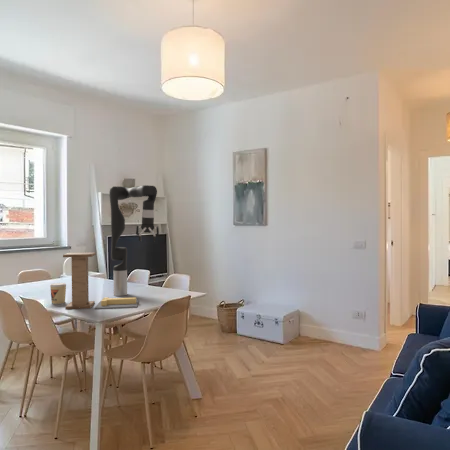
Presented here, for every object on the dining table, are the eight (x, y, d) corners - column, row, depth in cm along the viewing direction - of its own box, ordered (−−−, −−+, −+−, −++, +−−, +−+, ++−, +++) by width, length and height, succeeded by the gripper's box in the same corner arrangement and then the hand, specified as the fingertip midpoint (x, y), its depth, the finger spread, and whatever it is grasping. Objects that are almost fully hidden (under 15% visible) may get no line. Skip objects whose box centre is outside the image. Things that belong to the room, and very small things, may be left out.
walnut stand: (69, 304, 243) (68, 252, 242) (96, 303, 245) (95, 252, 245) (63, 309, 229) (63, 254, 229) (92, 308, 231) (91, 254, 231)
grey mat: (100, 302, 249) (100, 300, 249) (138, 300, 252) (138, 299, 252) (94, 309, 229) (94, 307, 229) (136, 307, 232) (136, 306, 232)
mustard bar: (103, 302, 244) (103, 297, 244) (136, 301, 247) (136, 296, 247) (101, 305, 234) (101, 300, 234) (135, 304, 237) (135, 299, 237)
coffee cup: (47, 303, 246) (47, 284, 246) (60, 300, 254) (60, 282, 254) (56, 305, 241) (55, 285, 241) (69, 302, 249) (69, 283, 249)
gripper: (136, 216, 246) (135, 242, 247) (159, 217, 248) (158, 243, 249) (137, 215, 253) (136, 240, 255) (159, 216, 255) (158, 241, 256)
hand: (147, 241), depth 252 cm, fingers open, 8 cm apart
